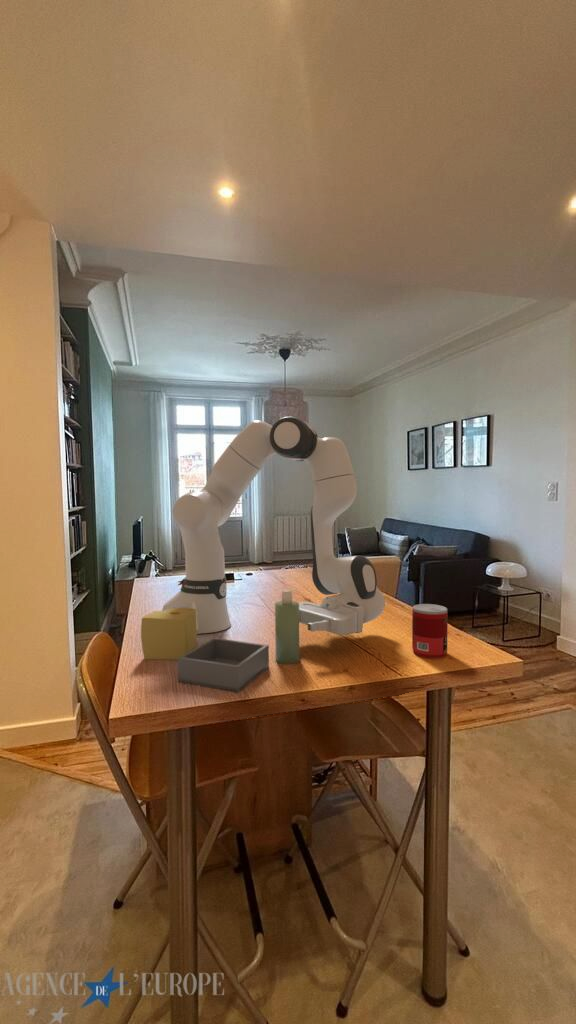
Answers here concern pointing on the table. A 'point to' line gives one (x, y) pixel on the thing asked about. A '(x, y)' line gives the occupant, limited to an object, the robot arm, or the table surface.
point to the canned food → (429, 630)
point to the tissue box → (168, 633)
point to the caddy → (223, 664)
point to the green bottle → (287, 629)
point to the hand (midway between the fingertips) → (295, 623)
